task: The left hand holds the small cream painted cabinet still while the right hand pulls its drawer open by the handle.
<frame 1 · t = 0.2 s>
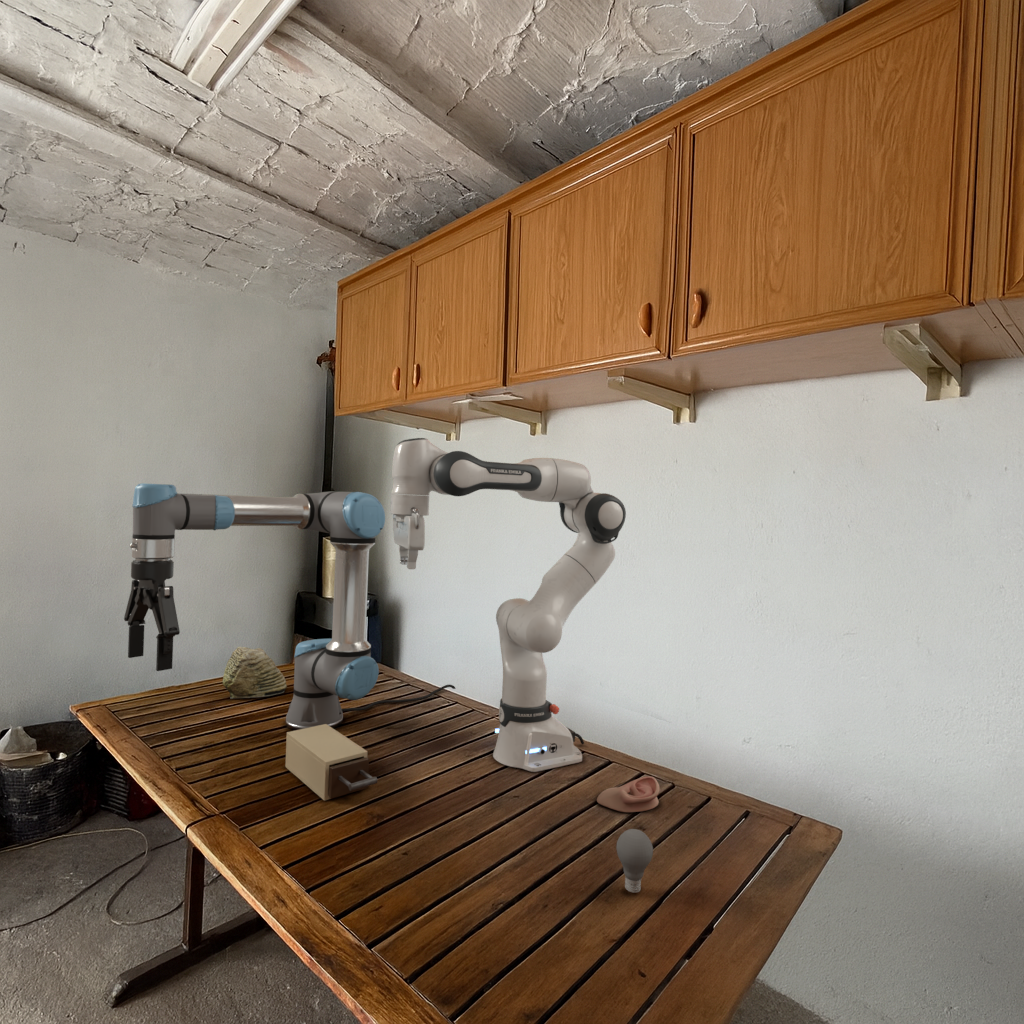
left hand: (149, 663, 129), 28 cm above the table, tool pointing down, fingers open, 13 cm apart
right hand: (407, 566, 148), 48 cm above the table, tool pointing down, fingers open, 8 cm apart
drawer: (336, 767, 139), point 4 cm above the table, slide at 0.6 cm
light bulb: (632, 891, 106), on the table
fossil: (254, 694, 198), on the table
cabinet: (324, 777, 143), on the table
anatomical model: (627, 801, 138), on the table
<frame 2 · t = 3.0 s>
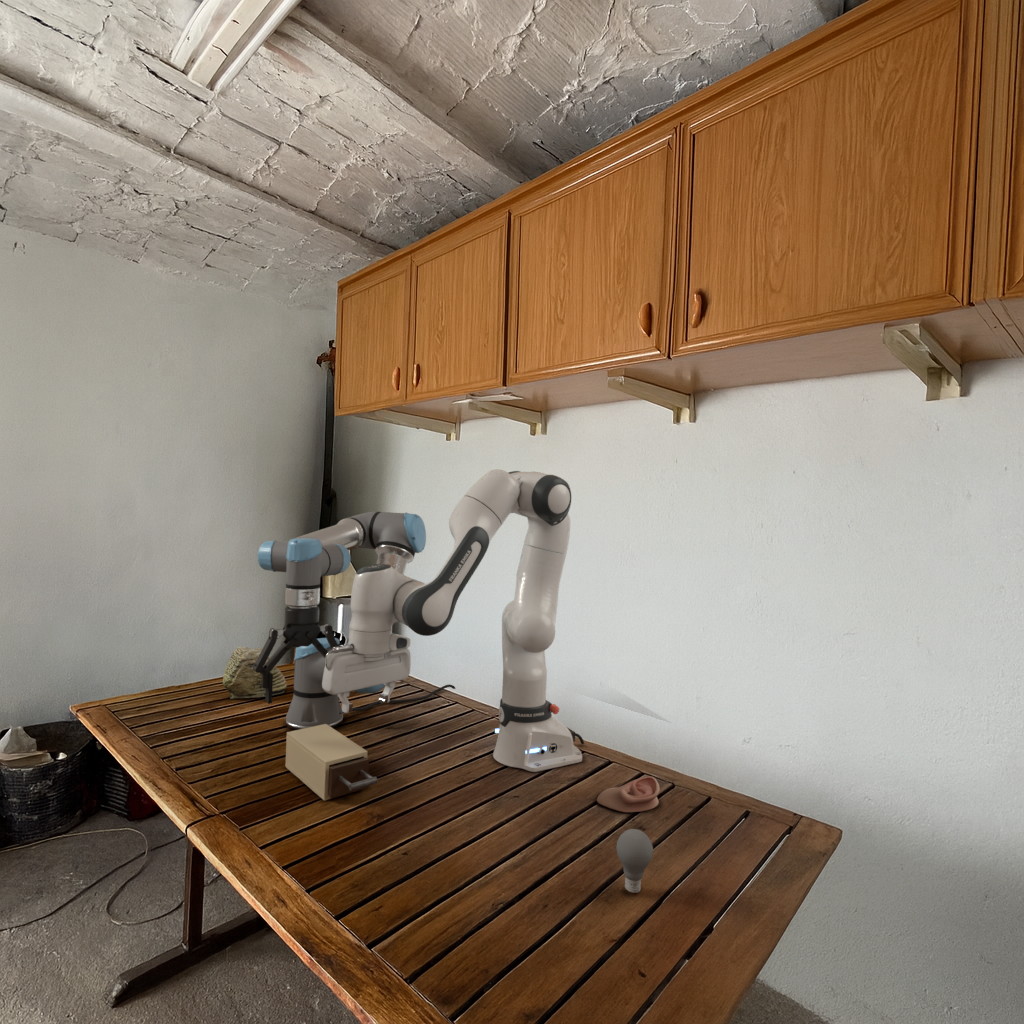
left hand: (299, 697, 146), 17 cm above the table, tool pointing down, fingers open, 13 cm apart
right hand: (366, 707, 133), 20 cm above the table, tool pointing down, fingers open, 8 cm apart
nothing on the table moved.
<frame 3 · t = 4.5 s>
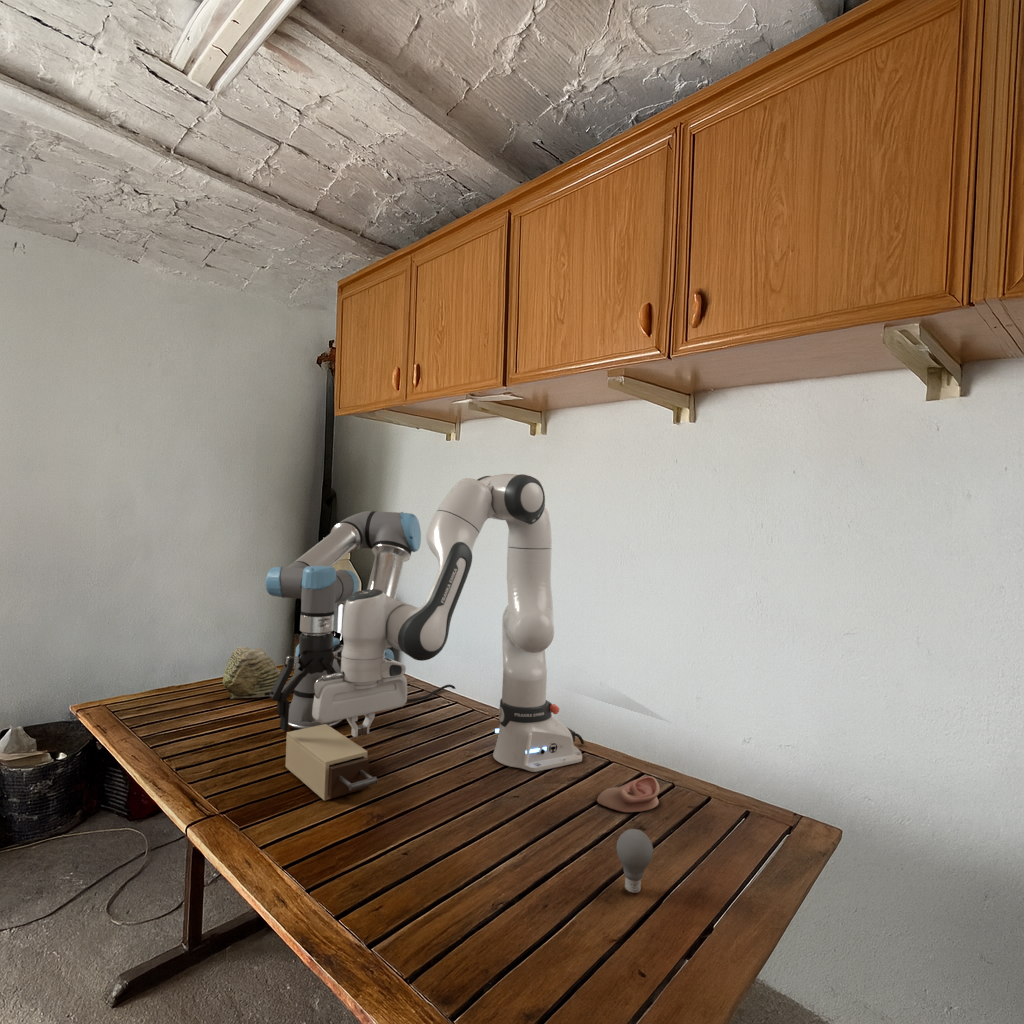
left hand: (312, 723, 148), 10 cm above the table, tool pointing down, fingers open, 13 cm apart
right hand: (360, 735, 131), 14 cm above the table, tool pointing down, fingers closed
nothing on the table moved.
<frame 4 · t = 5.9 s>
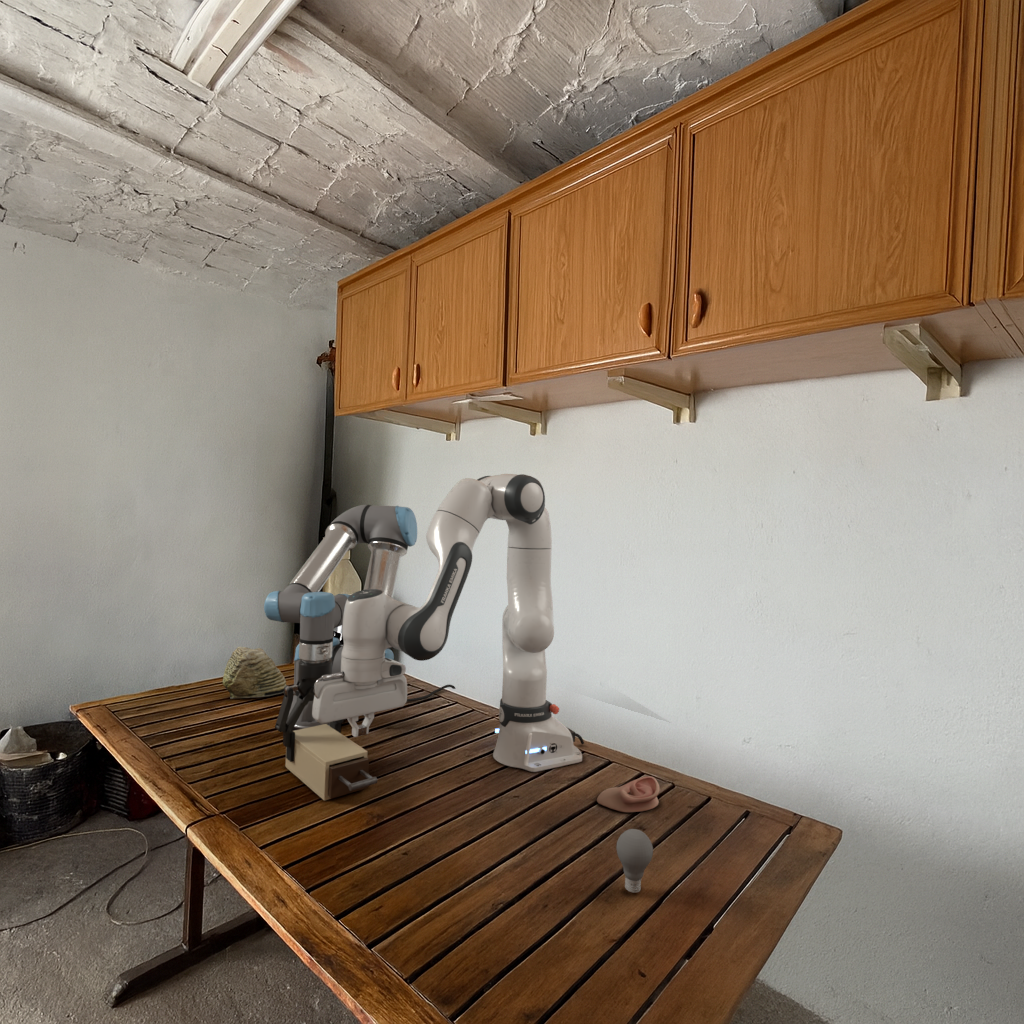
left hand: (311, 754, 148), 3 cm above the table, tool pointing down, fingers closed on cabinet, 10 cm apart
right hand: (360, 735, 131), 14 cm above the table, tool pointing down, fingers closed
cabinet: (324, 777, 143), on the table, touching left hand
everything else where it was.
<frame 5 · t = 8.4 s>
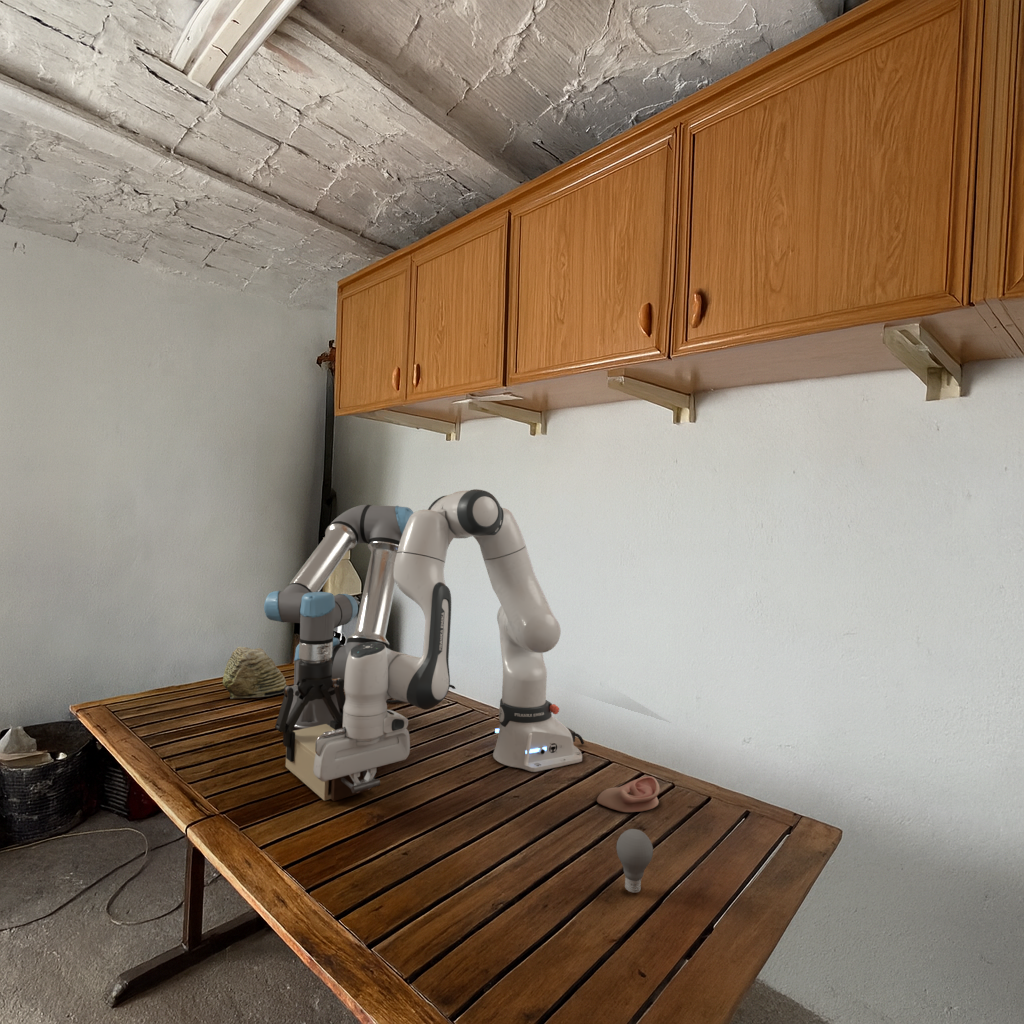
left hand: (312, 754, 148), 3 cm above the table, tool pointing down, fingers closed on cabinet, 10 cm apart
right hand: (362, 790, 130), 4 cm above the table, tool pointing down, fingers closed, pressing on drawer
drawer: (338, 769, 138), point 4 cm above the table, slide at 1.8 cm, touching right hand
cabinet: (324, 777, 143), on the table, touching left hand
everything else where it was.
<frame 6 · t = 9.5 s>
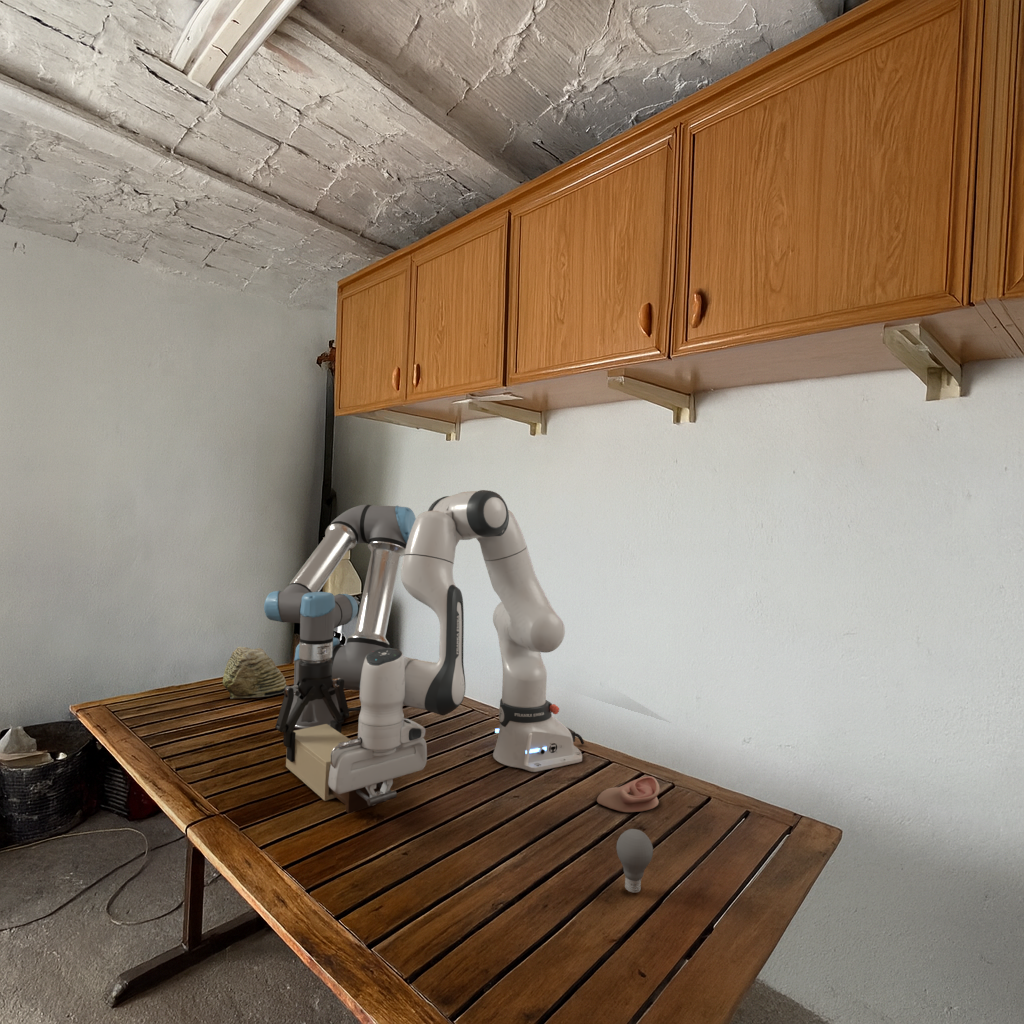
left hand: (312, 754, 148), 3 cm above the table, tool pointing down, fingers closed on cabinet, 10 cm apart
right hand: (378, 802, 125), 3 cm above the table, tool pointing down, fingers closed, pressing on drawer
drawer: (352, 780, 133), point 4 cm above the table, slide at 8.1 cm, touching right hand
cabinet: (325, 777, 143), on the table, touching left hand
everything else where it was.
when the left hand's fingers open (3 cm above the table, at t = 11.4 s): cabinet stays where it is, on the table.
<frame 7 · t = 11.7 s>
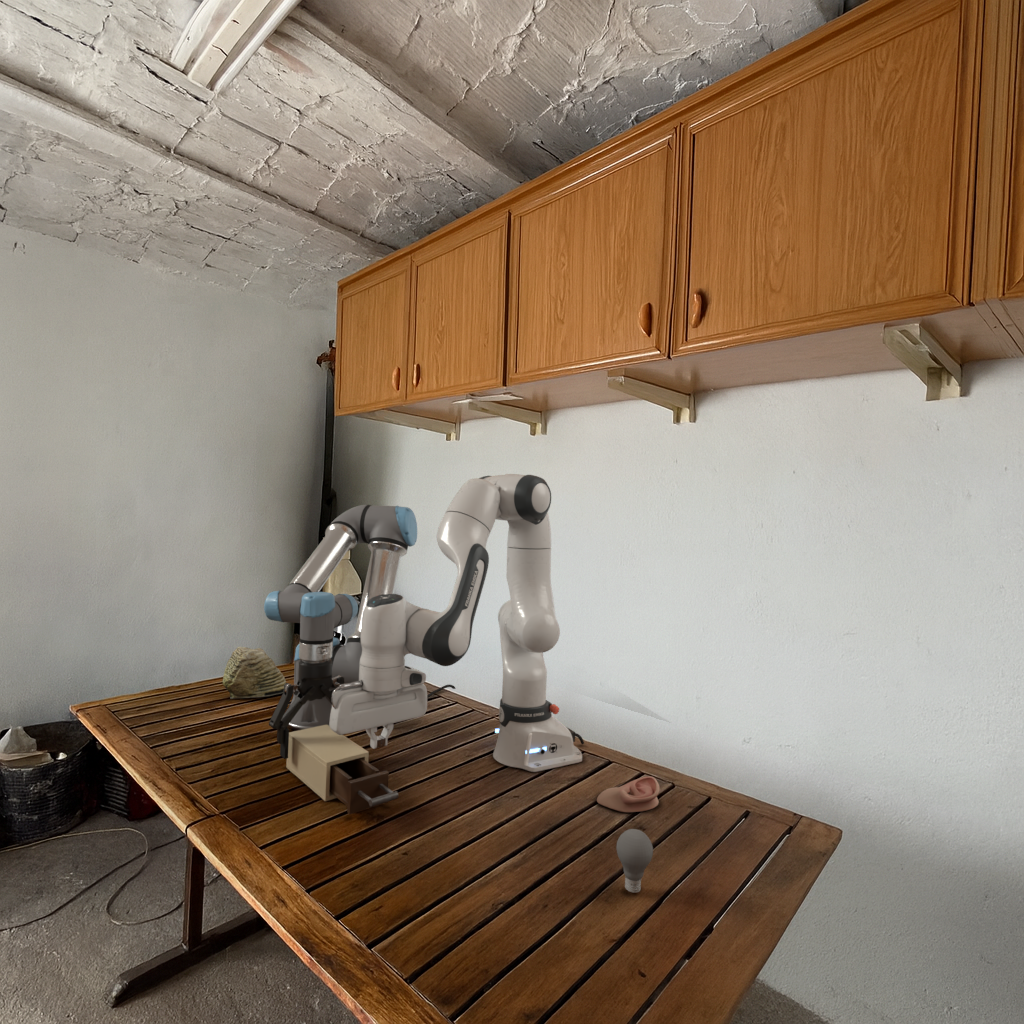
left hand: (312, 750, 148), 4 cm above the table, tool pointing down, fingers open, 13 cm apart
right hand: (378, 746, 126), 14 cm above the table, tool pointing down, fingers closed
drawer: (354, 781, 133), point 4 cm above the table, slide at 8.4 cm
cabinet: (325, 777, 143), on the table
everything else where it was.
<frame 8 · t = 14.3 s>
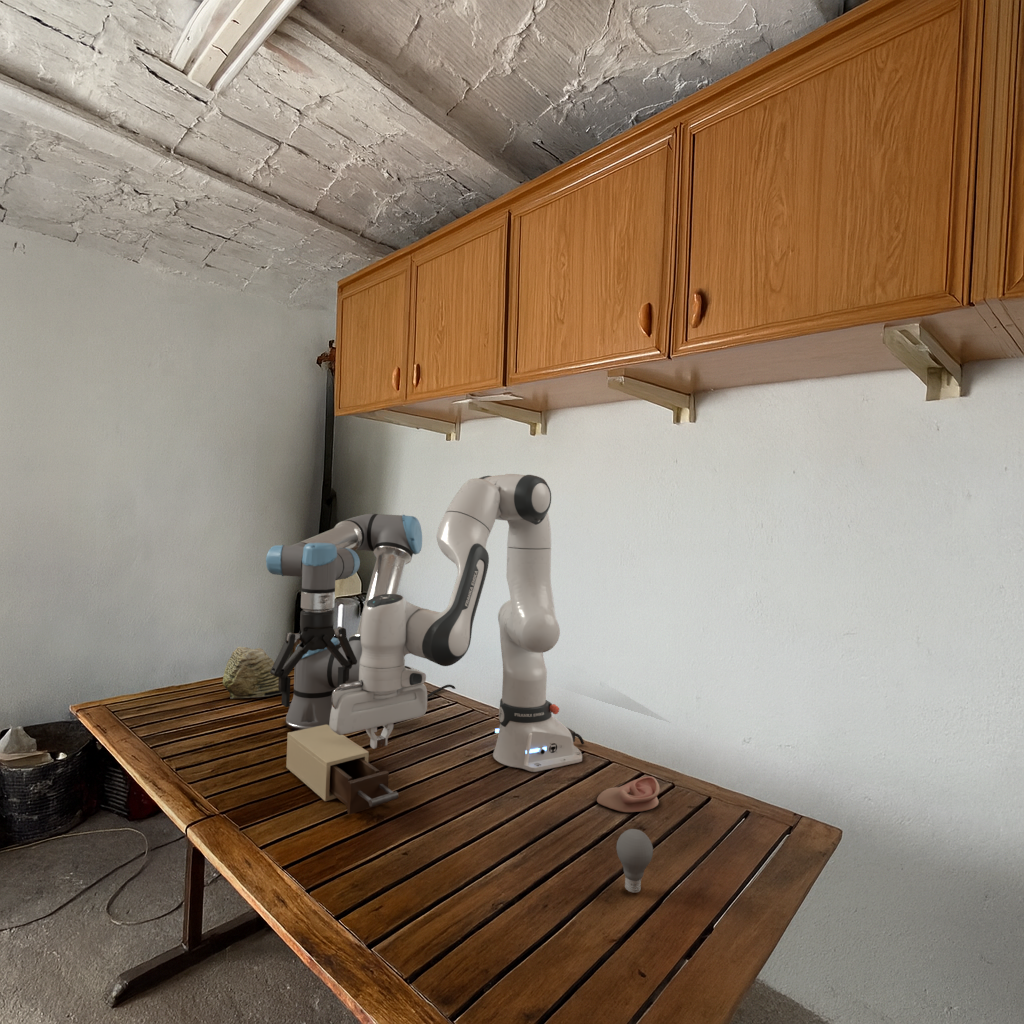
left hand: (314, 700, 148), 16 cm above the table, tool pointing down, fingers open, 13 cm apart
right hand: (378, 746, 126), 14 cm above the table, tool pointing down, fingers closed
nothing on the table moved.
at the end: drawer slide at 8.4 cm; cabinet tilted 0°; cabinet never tilted more than 3° during the clip; cabinet moved 0.4 cm from its start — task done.
